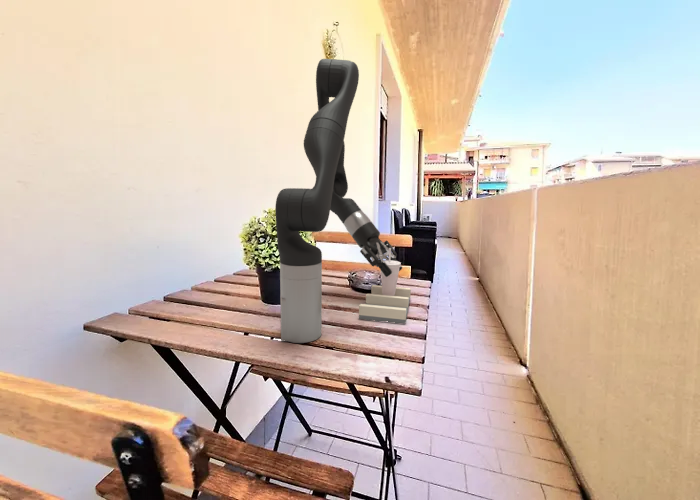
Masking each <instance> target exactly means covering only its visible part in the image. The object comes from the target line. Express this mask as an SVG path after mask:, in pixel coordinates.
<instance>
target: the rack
mask: <svg viewBox="0 0 700 500" xmlns="http://www.w3.org/2000/svg"><path fill="white" fill-rule="evenodd" d="M411 289H412V288H410V287H403V286H402V287H400V286H399V287H398V286H396V291H395V295H394V296H388V295H383V294H382V285H376V284H372V285H371V289H370V290H371V293H365V303H360V304H359V305H358V320H360V319H366V320H365V321H369V320H375V321H374V322H379V321H388V322H395V323H394V324H397V323H405V322H407V318H408V317H407V316H408V313H409V307H410V302H411ZM388 322H387V323H388ZM405 324H406V323H405Z"/></svg>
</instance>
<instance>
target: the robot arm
mask: <svg viewBox="0 0 700 500" xmlns="http://www.w3.org/2000/svg"><path fill="white" fill-rule="evenodd" d="M358 67H359V66H358V65H357V64H356V62H354V61H351V60H348V59H347V60H346V59H333V58H321V59H320V60H319V62H318V63H317V66H316V74H315V86H316V87H315V90H316V99H317V100H316V102H317V109H318V110H317V111H316V112H315V113H314V114H313V115H312V116H311V118H310V119H309V122H308V125H307V128H306V131H305V134H304V139H303V149H304V153H305V155H306V157H307V160H308V162H309V163H310V165H311V167H312V168H313V172H314V175H315V183H314V186H313V187H312V188H302V187H301V188H299V187H297V188H293V187H292V188H291V187H290V188H289V187H288V188H282V189H281V190H279V192H278V194H277V197H276V200H275V212H274V213H275V224H276V226H275V227H276V228H275V229H276V239H277V241H276V243H277V251H278V255H279V271H280V272H279V280H280V282H279V283H280V287H279V288H280V290H279V291H280V298H279V299H280V341H281V342H288V343H294V344H304V343H309V342H311V343H312V342H313V341H316V340H318V339H320V338H321V336H322V327H323V325H322V318H323V317H322V315H323V314H322V312H323V311H322V309H323V308H322V304H323V303H322V301H323V299H322V298H323V297H322V294H323V293H322V291H323V289H322V285H323V284H322V283H323V279H322V278H323V270H322V269H323V268H322V267H323V265H322V264H323V263H322V261H323V253H322V250H321V249H320V247H318V246H315V245H314V244H311V243H309V242H307V241H306V240H305V239H304V238H303V237H302V236H301V233H300V232H303V233H304V232H305V233H306V232H308V233H319V232H322V231H323V230H325V228H326V226H327V224H328V222H329V216H330V213H331V212H332V213H334V214H335V215H336V216H337V217H338V219H339V220H340V221H341V223H342V224H343V226H344V227H345V228H346V231H347V232H348V233H349V235H350V236H351V237H352V239H353V240H354V241H355V243H356V244H357V246H358V247H359V248H360V250H359V253H361V254H362V256H363V257H364V258H365V260H367V262H368V264H369V265H371V267H376V268H379V270H380V272H381V271H382V272H383V274H384V275H385V276H386V277H388V276H389V275H390V274H392V271H391V270H390V268H389V267H388V266H387V264H386V263H385V262H384V260H389V248H391V260H393V261H398V260H397V256H398V254H397V252H396V251H395V249H394V248H393V247H392V245H391V244H390V242H389V241H388V240H385V241H382V240H381V239H380V236H381V232H380V231H379V229H378V228H377V226H375V225H374V223H373V222H372V221H371V219H370V218H369V217H368V215H367V214H366V213H365V212H364V211H363V210H362V208H360V207H359V205H358V204H357V202H356V201H355V200H354V199H352V198H347V197H346V195H347V194H348V189H349V187H348V186H349V184H348V179H347V174H346V169H345V151H346V148H345V145H346V144H345V141H344V140H345V135H346V131H347V127H348V126H347V125H348V120H349V117H350V116H349V115H350V112H351V109H352V106H353V102H354V100H355V97H356V92H357V90H358V85H359V78H360V77H359V76H360V71H359V68H358ZM330 98H333V99H332V100H331V101H330ZM345 197H346V198H345ZM383 262H384V263H383ZM402 270H403V266H402V265H401V267H400V268H399V272H400V271H402Z"/></svg>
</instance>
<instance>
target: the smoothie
mask: <svg viewBox="0 0 700 500" xmlns="http://www.w3.org/2000/svg"><path fill="white" fill-rule="evenodd" d="M391 253H392V252H391V248H389V257H388V258H389V260H386V259H383V260H384V262H385V263H386V264H387V266H388V267H389V268H390V270H391V271H392V274H390V275H389V276H388V277H386V276H385V275H384V274H383V272H382V271H381V270H380V278H381V279H380V280H381V286H382V294H383V295H388V296H394V295H395V291H396V287H397V284H398V279H399V272H400V271H399V268H400V267H401V266H402V264H401V263H402V262H400V261H398V260H397V261H393V260H391ZM384 262H383V263H384Z"/></svg>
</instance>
